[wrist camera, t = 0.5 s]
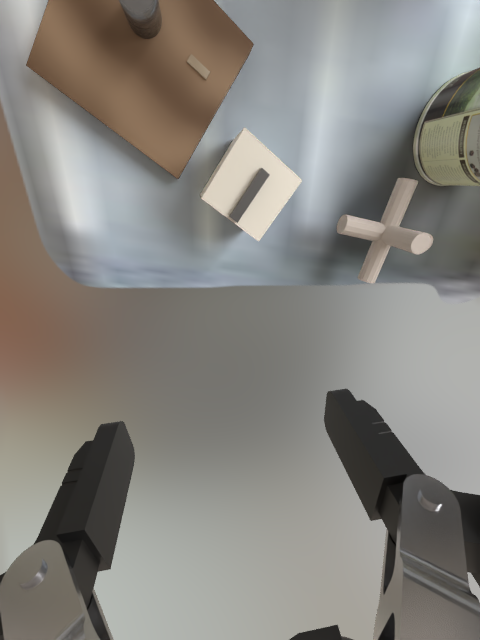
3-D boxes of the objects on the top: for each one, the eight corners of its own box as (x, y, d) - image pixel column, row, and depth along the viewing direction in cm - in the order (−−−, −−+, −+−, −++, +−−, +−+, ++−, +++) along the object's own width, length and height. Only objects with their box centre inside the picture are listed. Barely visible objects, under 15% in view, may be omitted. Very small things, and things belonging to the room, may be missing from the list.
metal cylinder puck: (135, -21, 20) (122, -64, 16) (168, 12, 21) (162, -23, 17) (119, 19, 20) (103, -15, 17) (151, 48, 21) (142, 22, 18)
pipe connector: (307, 260, 33) (348, 289, 25) (336, 169, 29) (397, 164, 20) (378, 273, 36) (438, 304, 27) (414, 190, 31) (499, 194, 23)
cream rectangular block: (233, 139, 27) (246, 125, 20) (279, 180, 29) (304, 180, 22) (199, 194, 28) (201, 199, 22) (245, 229, 31) (260, 242, 24)
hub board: (102, -101, 19) (92, -133, 17) (249, 54, 24) (254, 42, 22) (39, 74, 23) (24, 64, 21) (178, 178, 27) (177, 178, 26)
